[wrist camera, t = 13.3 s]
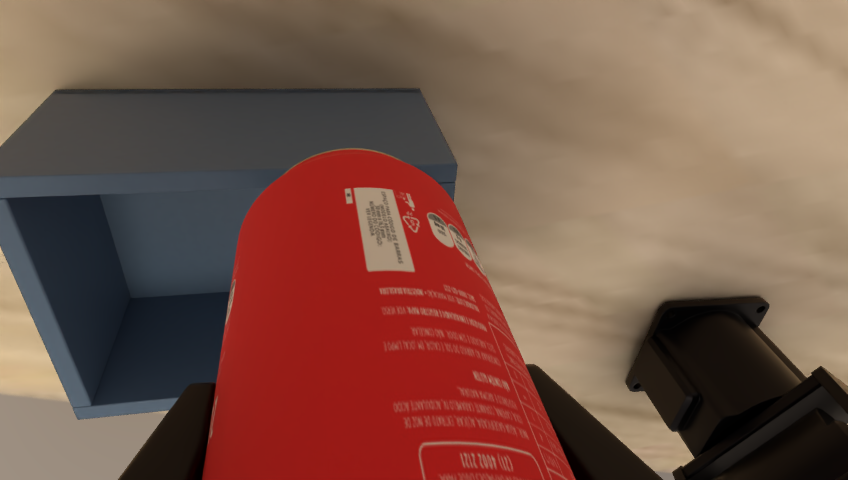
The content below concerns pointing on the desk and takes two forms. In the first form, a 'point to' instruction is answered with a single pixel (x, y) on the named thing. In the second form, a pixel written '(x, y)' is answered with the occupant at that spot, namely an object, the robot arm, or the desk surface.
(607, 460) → the robot arm
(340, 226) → the beverage can
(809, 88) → the desk surface
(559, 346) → the desk surface
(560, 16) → the desk surface
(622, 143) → the desk surface
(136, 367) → the slate grey box
